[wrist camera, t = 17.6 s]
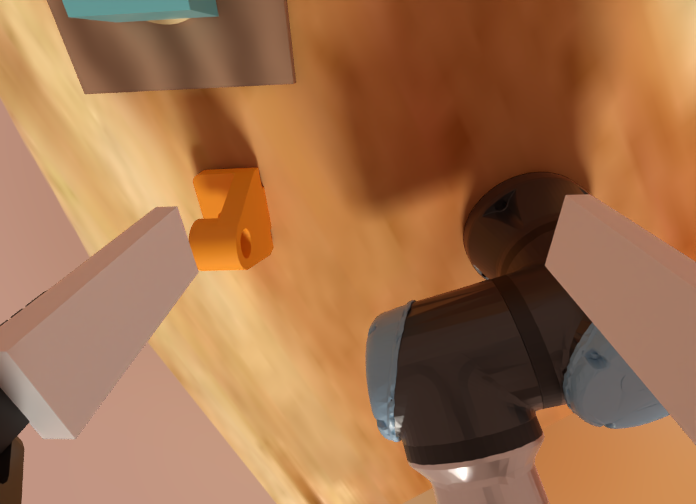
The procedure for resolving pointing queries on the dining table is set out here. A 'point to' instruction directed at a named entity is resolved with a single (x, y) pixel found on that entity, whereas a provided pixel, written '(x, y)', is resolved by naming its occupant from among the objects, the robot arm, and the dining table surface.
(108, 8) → the collar
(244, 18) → the post base
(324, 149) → the dining table surface
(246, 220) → the bracket
